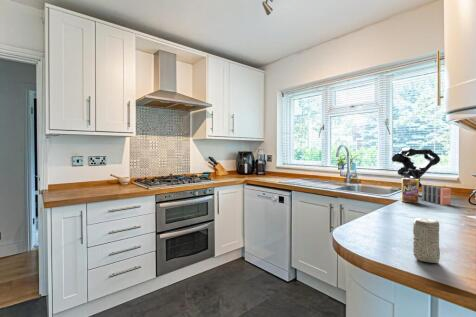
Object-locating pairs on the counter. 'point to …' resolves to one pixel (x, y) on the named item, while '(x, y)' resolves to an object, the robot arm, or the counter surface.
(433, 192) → the domino
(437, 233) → the carving
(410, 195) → the candy box
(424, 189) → the domino
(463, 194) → the counter surface
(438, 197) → the domino
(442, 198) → the end domino
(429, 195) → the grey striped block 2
